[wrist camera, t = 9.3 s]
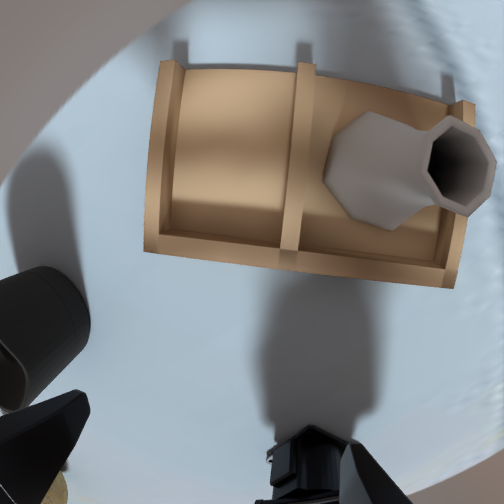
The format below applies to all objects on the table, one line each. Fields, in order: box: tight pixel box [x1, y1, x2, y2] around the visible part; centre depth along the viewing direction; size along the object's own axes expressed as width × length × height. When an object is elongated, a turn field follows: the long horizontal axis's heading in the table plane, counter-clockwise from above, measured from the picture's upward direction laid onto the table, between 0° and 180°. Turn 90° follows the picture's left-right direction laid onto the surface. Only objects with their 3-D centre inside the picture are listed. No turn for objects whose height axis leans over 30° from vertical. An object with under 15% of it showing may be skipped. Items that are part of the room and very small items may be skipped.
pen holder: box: [0, 266, 90, 413], centre depth 19 cm, size 9×9×10 cm
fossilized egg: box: [41, 471, 68, 504], centre depth 25 cm, size 13×13×15 cm
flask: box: [322, 110, 497, 231], centre depth 13 cm, size 7×7×10 cm
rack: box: [144, 60, 475, 289], centre depth 17 cm, size 12×20×3 cm, turn 85°
